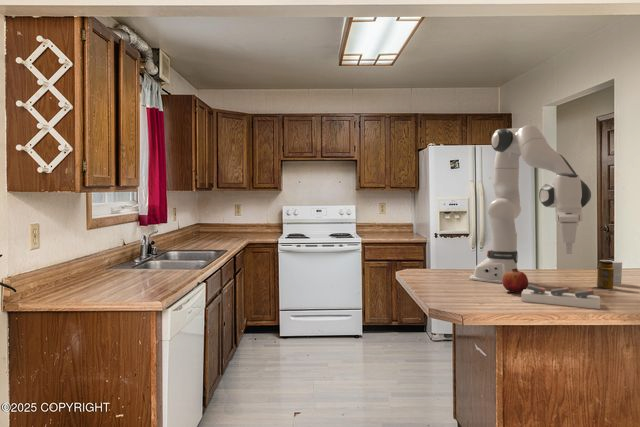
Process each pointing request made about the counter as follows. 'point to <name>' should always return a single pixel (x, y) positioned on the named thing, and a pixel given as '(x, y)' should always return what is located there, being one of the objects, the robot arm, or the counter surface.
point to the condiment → (605, 276)
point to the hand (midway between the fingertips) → (569, 253)
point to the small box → (616, 272)
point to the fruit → (515, 281)
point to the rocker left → (536, 288)
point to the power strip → (561, 299)
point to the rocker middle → (560, 290)
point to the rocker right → (584, 292)
